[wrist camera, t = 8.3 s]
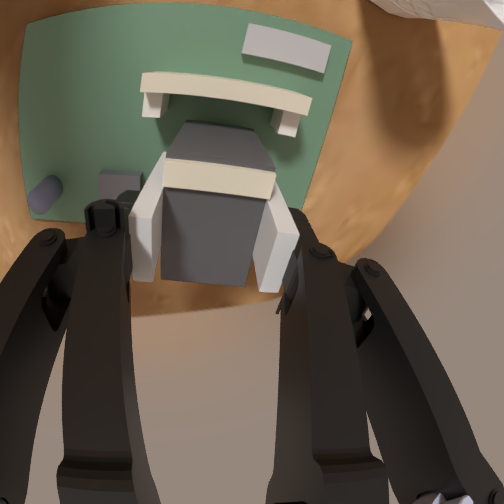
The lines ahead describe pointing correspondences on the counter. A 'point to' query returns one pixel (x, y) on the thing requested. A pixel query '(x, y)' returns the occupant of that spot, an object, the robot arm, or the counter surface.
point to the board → (180, 106)
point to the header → (224, 96)
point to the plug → (213, 202)
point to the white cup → (449, 11)
